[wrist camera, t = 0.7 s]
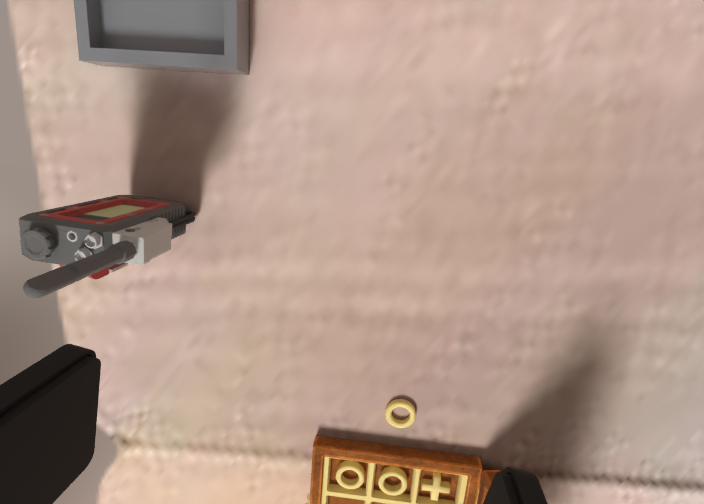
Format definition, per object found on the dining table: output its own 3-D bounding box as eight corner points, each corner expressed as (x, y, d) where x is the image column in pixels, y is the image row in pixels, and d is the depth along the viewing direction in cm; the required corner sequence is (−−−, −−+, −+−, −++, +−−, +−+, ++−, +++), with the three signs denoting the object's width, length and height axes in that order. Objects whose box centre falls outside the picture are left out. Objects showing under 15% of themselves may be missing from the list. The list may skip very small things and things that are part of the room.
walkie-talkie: (218, 204, 39) (47, 268, 20) (216, 250, 40) (53, 352, 21) (126, 191, 40) (-125, 241, 21) (127, 237, 41) (-110, 325, 22)
